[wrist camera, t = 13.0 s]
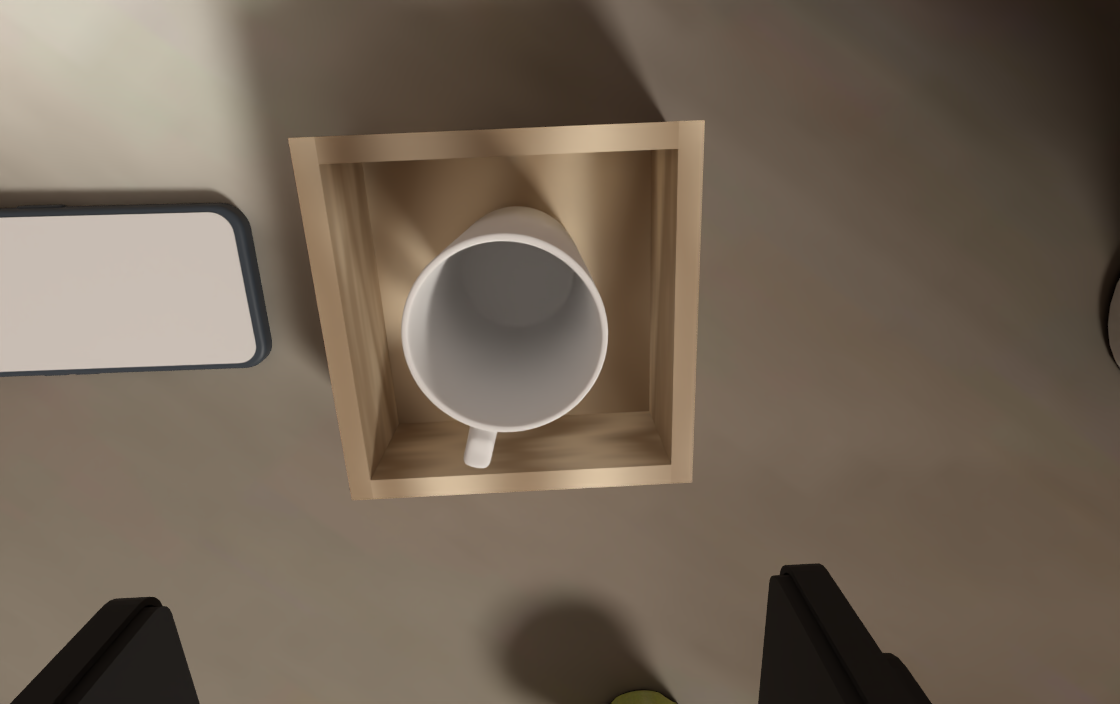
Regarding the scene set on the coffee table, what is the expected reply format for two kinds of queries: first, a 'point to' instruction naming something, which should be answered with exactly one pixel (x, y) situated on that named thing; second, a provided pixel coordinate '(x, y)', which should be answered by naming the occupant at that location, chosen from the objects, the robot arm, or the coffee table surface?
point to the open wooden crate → (441, 217)
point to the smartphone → (129, 289)
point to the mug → (505, 327)
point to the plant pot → (642, 698)
